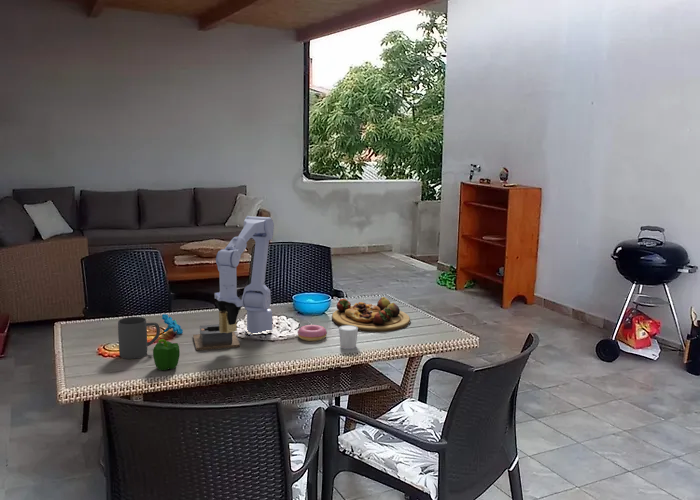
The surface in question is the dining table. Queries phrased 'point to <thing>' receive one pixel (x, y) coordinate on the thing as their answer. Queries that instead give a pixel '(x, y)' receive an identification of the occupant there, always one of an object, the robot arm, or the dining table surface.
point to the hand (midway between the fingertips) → (228, 322)
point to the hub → (214, 338)
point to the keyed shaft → (226, 323)
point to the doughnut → (312, 332)
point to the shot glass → (348, 336)
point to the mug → (134, 337)
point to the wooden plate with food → (371, 316)
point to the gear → (171, 324)
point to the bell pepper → (166, 355)
